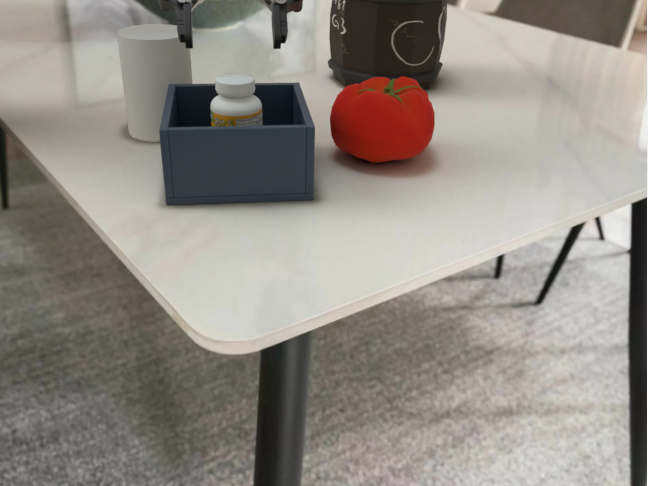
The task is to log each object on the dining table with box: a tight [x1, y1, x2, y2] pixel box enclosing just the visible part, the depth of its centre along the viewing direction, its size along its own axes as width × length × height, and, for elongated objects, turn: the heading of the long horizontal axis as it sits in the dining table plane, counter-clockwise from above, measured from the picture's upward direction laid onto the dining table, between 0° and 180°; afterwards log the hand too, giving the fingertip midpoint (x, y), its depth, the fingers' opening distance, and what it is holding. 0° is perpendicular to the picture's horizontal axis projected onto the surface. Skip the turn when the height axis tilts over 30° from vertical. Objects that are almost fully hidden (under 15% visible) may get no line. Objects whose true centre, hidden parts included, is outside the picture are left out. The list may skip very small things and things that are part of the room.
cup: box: [116, 23, 193, 143], centre depth 82 cm, size 8×8×12 cm
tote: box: [159, 82, 316, 206], centre depth 72 cm, size 15×15×8 cm
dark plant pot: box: [327, 0, 448, 91], centre depth 103 cm, size 18×18×16 cm
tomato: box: [329, 76, 436, 164], centre depth 78 cm, size 13×12×8 cm
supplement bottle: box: [210, 72, 263, 126], centre depth 71 cm, size 5×5×10 cm
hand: (233, 44), depth 66 cm, fingers open, 8 cm apart
